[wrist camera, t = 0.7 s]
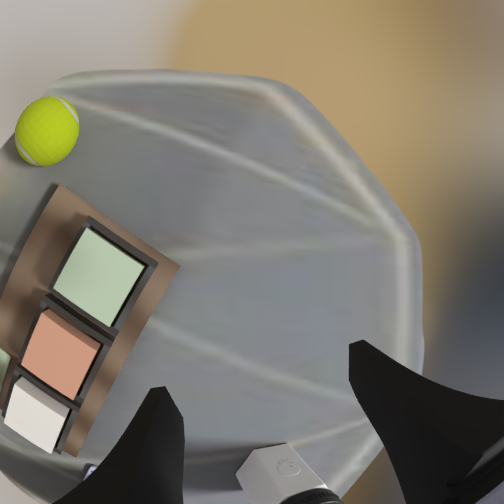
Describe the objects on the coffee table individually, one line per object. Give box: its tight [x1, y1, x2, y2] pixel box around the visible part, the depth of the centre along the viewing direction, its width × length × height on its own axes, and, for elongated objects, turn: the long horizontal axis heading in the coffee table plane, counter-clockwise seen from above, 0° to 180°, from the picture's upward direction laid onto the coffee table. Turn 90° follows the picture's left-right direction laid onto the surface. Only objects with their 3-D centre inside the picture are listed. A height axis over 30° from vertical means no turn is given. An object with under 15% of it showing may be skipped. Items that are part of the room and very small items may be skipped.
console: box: [0, 183, 180, 457], centre depth 22 cm, size 25×14×3 cm, turn 148°
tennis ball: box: [14, 96, 79, 167], centre depth 20 cm, size 7×7×7 cm
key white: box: [4, 377, 70, 454], centre depth 18 cm, size 6×6×2 cm
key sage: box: [54, 228, 144, 327], centre depth 21 cm, size 6×6×2 cm
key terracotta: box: [21, 309, 101, 400], centre depth 20 cm, size 6×6×2 cm
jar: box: [236, 443, 344, 504], centre depth 24 cm, size 9×8×12 cm
